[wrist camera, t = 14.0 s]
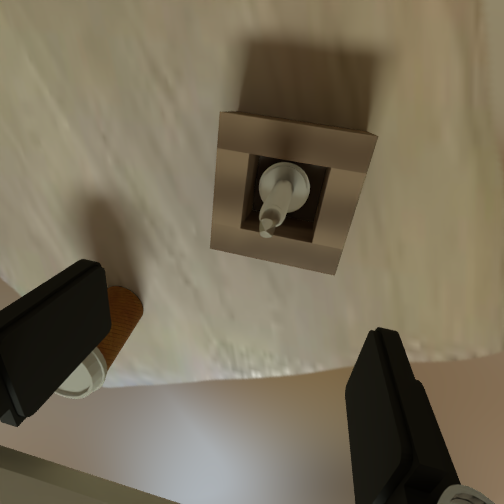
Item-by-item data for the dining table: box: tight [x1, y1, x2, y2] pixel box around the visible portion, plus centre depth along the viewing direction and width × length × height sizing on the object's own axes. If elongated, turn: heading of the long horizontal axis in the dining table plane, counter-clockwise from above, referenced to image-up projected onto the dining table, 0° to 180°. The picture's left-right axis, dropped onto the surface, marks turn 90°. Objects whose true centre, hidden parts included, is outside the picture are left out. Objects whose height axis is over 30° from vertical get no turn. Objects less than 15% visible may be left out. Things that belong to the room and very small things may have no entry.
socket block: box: [210, 111, 378, 275], centre depth 27 cm, size 12×12×6 cm
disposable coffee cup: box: [54, 286, 143, 399], centre depth 36 cm, size 10×10×12 cm
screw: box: [259, 162, 310, 238], centre depth 24 cm, size 13×5×5 cm
